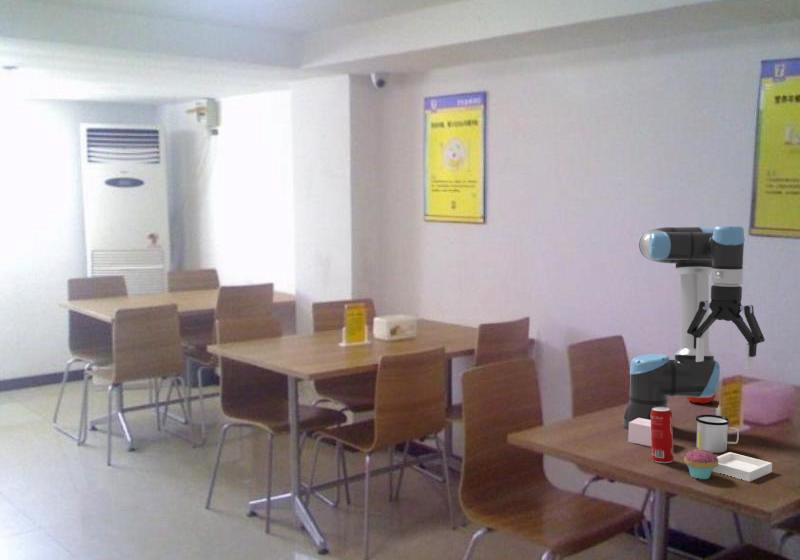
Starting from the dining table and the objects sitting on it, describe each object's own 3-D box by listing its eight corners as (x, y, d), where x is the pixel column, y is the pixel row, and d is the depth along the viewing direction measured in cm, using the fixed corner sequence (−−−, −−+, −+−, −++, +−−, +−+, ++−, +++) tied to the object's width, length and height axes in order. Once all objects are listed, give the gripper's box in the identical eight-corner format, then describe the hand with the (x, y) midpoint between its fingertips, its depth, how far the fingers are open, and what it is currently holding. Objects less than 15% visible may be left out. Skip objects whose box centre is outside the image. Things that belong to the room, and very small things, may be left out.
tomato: (687, 405, 285) (688, 384, 284) (681, 397, 296) (682, 377, 295) (718, 406, 283) (719, 385, 282) (711, 399, 294) (712, 379, 293)
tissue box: (628, 441, 241) (628, 421, 241) (638, 436, 246) (638, 416, 246) (660, 448, 235) (660, 427, 234) (669, 443, 240) (670, 422, 239)
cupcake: (678, 471, 215) (679, 427, 214) (708, 470, 216) (710, 427, 215) (692, 482, 206) (694, 437, 205) (723, 481, 207) (725, 436, 206)
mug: (696, 452, 231) (697, 421, 230) (692, 442, 240) (693, 413, 240) (740, 455, 228) (741, 424, 227) (735, 445, 237) (736, 416, 237)
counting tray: (706, 469, 216) (706, 460, 216) (729, 460, 224) (729, 452, 224) (749, 481, 207) (749, 472, 207) (771, 472, 215) (772, 463, 214)
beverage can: (674, 464, 220) (676, 411, 219) (650, 463, 222) (651, 410, 220) (671, 458, 226) (673, 406, 225) (647, 456, 227) (649, 405, 226)
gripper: (675, 282, 216) (673, 359, 218) (766, 289, 197) (762, 374, 199) (690, 281, 221) (688, 356, 223) (781, 287, 202) (777, 370, 203)
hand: (723, 365), depth 211 cm, fingers open, 13 cm apart
